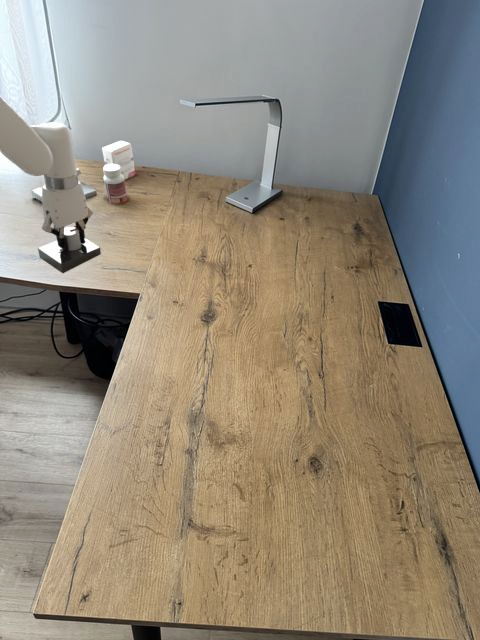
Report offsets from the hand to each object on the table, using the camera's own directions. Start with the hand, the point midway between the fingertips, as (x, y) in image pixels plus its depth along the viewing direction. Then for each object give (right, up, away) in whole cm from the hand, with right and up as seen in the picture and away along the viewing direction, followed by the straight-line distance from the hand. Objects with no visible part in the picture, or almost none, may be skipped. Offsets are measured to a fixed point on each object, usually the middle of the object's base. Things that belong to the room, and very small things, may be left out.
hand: (72, 244), depth 133 cm
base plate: (-1, -3, +2) cm, 4 cm away
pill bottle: (+5, +19, +26) cm, 32 cm away
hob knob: (0, 0, 0) cm, 0 cm away
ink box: (+3, +29, +37) cm, 48 cm away
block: (-12, +20, +25) cm, 34 cm away
